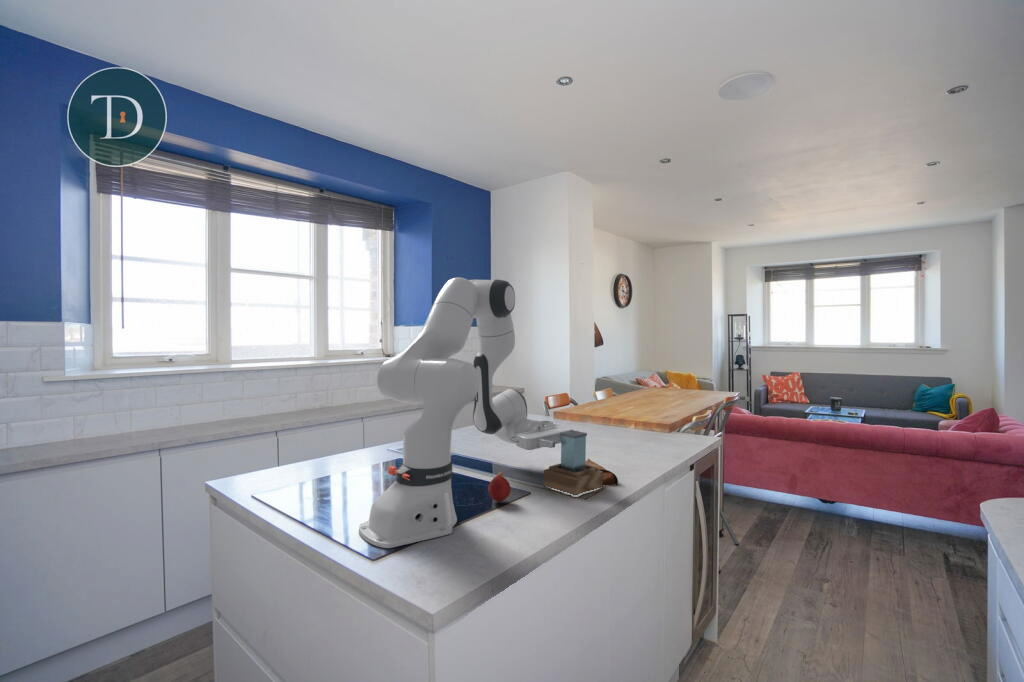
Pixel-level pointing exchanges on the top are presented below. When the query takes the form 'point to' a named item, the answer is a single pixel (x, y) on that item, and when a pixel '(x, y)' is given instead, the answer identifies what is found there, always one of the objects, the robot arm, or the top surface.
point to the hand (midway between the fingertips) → (564, 442)
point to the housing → (573, 451)
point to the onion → (499, 488)
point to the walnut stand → (573, 479)
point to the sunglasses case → (604, 474)
